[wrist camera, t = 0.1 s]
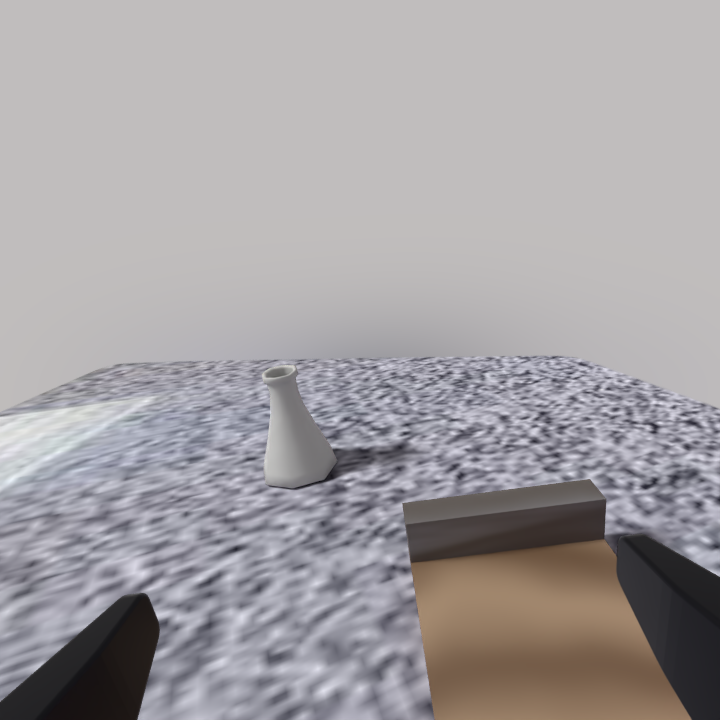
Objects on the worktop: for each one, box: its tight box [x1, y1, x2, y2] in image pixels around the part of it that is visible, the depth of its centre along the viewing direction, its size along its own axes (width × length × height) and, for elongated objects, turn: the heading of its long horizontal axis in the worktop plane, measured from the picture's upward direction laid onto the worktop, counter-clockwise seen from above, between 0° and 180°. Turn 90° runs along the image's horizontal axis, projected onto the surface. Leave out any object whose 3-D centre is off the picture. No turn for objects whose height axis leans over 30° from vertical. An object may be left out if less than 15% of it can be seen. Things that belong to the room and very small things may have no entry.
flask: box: [262, 365, 337, 488], centre depth 42 cm, size 7×7×10 cm
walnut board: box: [402, 479, 692, 720], centre depth 20 cm, size 20×12×4 cm, turn 1°
